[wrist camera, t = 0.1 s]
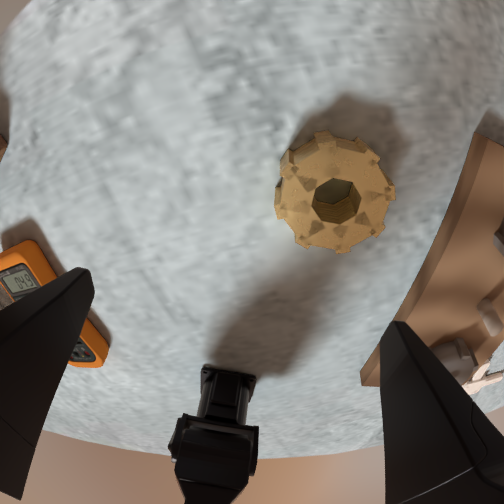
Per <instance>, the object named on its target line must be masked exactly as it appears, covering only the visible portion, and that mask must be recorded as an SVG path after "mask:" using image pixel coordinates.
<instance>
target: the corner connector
mask: <svg viewBox="0 0 504 504" xmlns="http://www.w3.org/2000/svg"><path fill="white" fill-rule="evenodd" d="M489 365H490V362H489V359H487V361H486V362H485V363H484V364H483V365H482V366H481V367H480V368H479V370H478V371H477V372H476V373H475V374H474V375H473V376H472V377H471V378H470V379H469V380H468V381H467V382H466V383H465V384H464V385H462V387H463V389H464V390H465V391H466V392H467V393H468V395H470V394H473V393H477V392H478V391H479V390H480V388H481V387H482V386H485V385H489V384H492V383H495V382H498V381H500V380H501V379H502V378H503V375H502V373H501V372H500V373H496V374H492V375H489V376H485V374H484V373H485V371H486V370H487V368H488V366H489ZM469 381H470V382H469Z"/></svg>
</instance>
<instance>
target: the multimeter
mask: <svg viewBox="0 0 504 504" xmlns="http://www.w3.org/2000/svg"><path fill="white" fill-rule="evenodd" d="M56 278H57V276H56V275H55V273H54V271H53V270H52V268H51V266H50V265H49V263H48V261H47V260H46V258H45V256H44V254H43V253H42V251H41V249H40V247H39V246H38V244H37V243H36V242H34V241H32V240H26V241H24V242H22V243H19V244H17V245H15V246H13V247H11V248H9V249H7V250H5V251H3V252H1V253H0V283H1V285H2V286H3V287H4V289H5V290H6V291H7V293H8V294H9V296H10V297H11V298H12V300H13V301H14V302H15V301H17V300H19V299H21V298H22V297H24V296H26V295H27V294H29V293H31V292H33V291H34V290H36V289H38V288H40V287H41V286H43V285H45V284H47V283H49V282H50V281H52V280H54V279H56ZM108 351H109V348H108V344H107V342H106V340H105V339H104V338H103V337H102V336H101V334H100V333H99V332H98V331H97V330H96V328H95V327H94V326H93V325H92V324H91V322H90V321H89V320H88V319H87V318H86V320H85V323H84V326H83V328H82V331H81V334H80V337H79V339H78V341H77V344H76V346H75V348H74V350H73V353H72V355H71V357H70V359H69V362H68V364H70V365H72V366H75V367H87V368H98V367H101V366H103V364H104V362H105V360H106V358H107V355H108Z"/></svg>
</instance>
